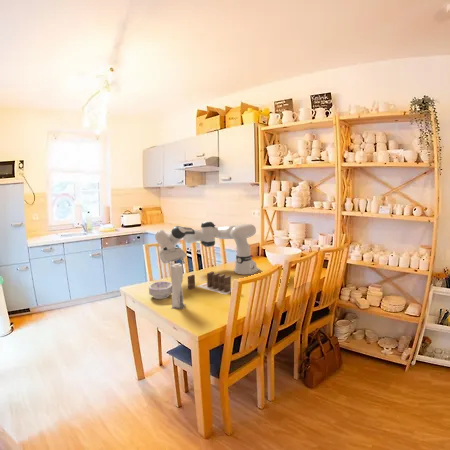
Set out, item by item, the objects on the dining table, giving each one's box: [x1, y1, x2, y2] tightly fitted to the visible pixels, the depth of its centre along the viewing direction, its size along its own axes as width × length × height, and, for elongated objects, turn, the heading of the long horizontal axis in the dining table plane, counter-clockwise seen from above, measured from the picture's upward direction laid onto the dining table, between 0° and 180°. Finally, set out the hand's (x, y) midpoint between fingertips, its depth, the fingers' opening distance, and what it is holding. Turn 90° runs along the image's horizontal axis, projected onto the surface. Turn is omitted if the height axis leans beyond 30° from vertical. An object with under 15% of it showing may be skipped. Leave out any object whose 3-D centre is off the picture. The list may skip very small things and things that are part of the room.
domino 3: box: [213, 272, 220, 289], centre depth 218 cm, size 2×5×10 cm, turn 141°
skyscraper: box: [169, 262, 187, 310], centre depth 189 cm, size 8×8×28 cm
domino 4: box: [218, 274, 226, 291], centre depth 215 cm, size 2×5×10 cm, turn 141°
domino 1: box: [187, 274, 196, 290], centre depth 217 cm, size 2×5×10 cm, turn 141°
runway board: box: [196, 282, 233, 296], centre depth 218 cm, size 12×26×1 cm, turn 51°
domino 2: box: [206, 271, 215, 288], centre depth 221 cm, size 2×5×10 cm, turn 141°
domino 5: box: [224, 275, 232, 292], centre depth 211 cm, size 2×5×10 cm, turn 141°
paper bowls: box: [148, 280, 172, 300], centre depth 206 cm, size 15×15×8 cm
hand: (179, 264), depth 223 cm, fingers open, 8 cm apart
